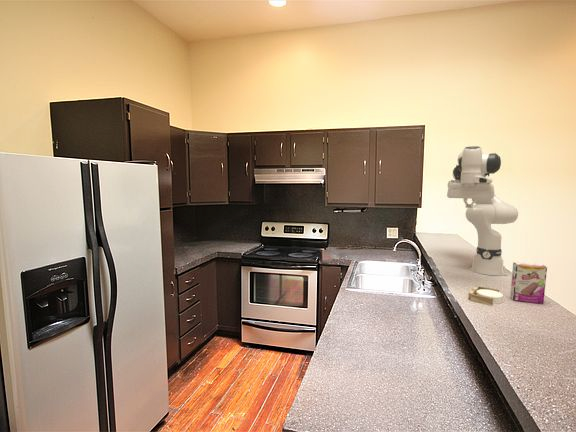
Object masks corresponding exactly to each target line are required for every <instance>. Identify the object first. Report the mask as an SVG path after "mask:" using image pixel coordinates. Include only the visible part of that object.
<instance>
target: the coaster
mask: <svg viewBox="0 0 576 432" xmlns="http://www.w3.org/2000/svg"><path fill="white" fill-rule="evenodd" d="M476 293H477V294H476V295H480V296H485V297H490V298H493V305H494V304H495V305H498V304H502V303H503V301H504V295H503V293H501V292H500V291H499V292H497V291H493V290H487V289H480V290H477V292H476Z"/></svg>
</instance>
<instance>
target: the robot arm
mask: <svg viewBox="0 0 576 432" xmlns="http://www.w3.org/2000/svg"><path fill="white" fill-rule="evenodd" d="M501 159H502V158H501V156H500V155H498V154H497V153H496V152H494V153H483V149H482V147H481V146H478V145H477V146H476V145H474V146H473V145H472V146H466V147H464V148H463V150H462V152H460V153H459V155H458V156H457V164H456V165H455V167H454V168H453V170H452V177H453V179H451V180H449V181H448V182H447V192H446V193H447V195H446V197H447V198H448V199H463V203H464V204H465V209H466V211H465V218H466V219H467V221H468V222H470V223H471V225H473V226H474V228H475V229H476V232H477V247H476V254H475V255H473V256H472V257H473V259H472V266H471V267H470V266H469V268H468V270H470V271H473V272H474V273H477V274H480V275H485V276H486V275H487V276H508V271H507V268H506V266H505V265H504V261H505V260H504V259H503V257H502V253H503V251H502V235H501V233H500V232H499V231H496V230H494V229H493V228H492V225H506V224H512V223H515V222H516V221H517V219H518V217H519V212H518V209H517V208H516V207H515V206H514V205H511V204H508V203H507V202H504V201H503V200H502V199H501V198H499V197H497V195H496V194H495V187H494V185H493V184H492V182H493V179H492V178H490V174H492V175H493V174H495V173H497V172H499V170H500V168H501V165H502V160H501ZM469 199H471V201H472V202H471V203H468V200H469Z"/></svg>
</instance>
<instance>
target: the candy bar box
mask: <svg viewBox="0 0 576 432" xmlns="http://www.w3.org/2000/svg"><path fill="white" fill-rule="evenodd" d="M547 271H548V267H547V266H546V265H544V264H540V263H526V262H512V272H511V282H510V295H509V297H510V299H511V300H512V301H513V302H521V303H529V304H530V303H531V304H539V305H544V302H545V293H546V281H547Z"/></svg>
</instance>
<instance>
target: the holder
mask: <svg viewBox="0 0 576 432" xmlns="http://www.w3.org/2000/svg"><path fill="white" fill-rule="evenodd" d="M480 289H487V290H493V291H497V292H500V289H496V288H491V287H485V286H481V285H479V286H477V285H476V286H474V288H472V289H471V290H470V291H469V292H468V297H467V299H468V300H470V302H473V303H478V304H482V305H483V304H484V305H487V306H494V304H493V298H490V297H485V296H480V295H476V294H477V293H476V292H477V290H480Z"/></svg>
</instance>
